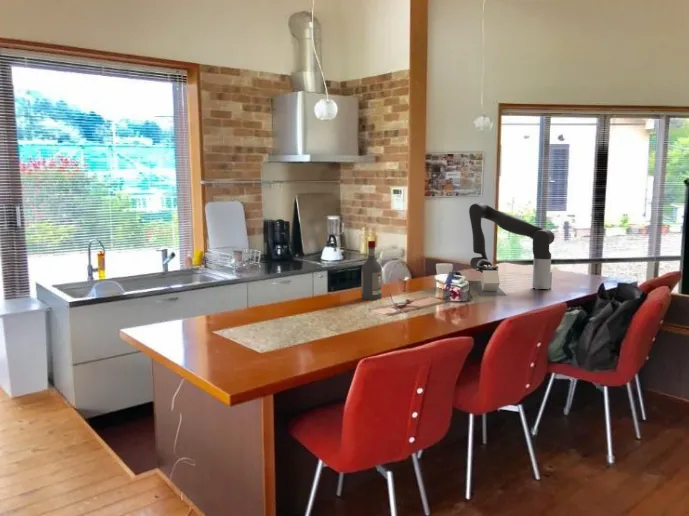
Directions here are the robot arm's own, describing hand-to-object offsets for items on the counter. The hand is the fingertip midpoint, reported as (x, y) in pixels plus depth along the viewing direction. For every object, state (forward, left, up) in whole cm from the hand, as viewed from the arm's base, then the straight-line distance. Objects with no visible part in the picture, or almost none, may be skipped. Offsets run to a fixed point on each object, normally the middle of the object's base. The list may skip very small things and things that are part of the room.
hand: (490, 270), depth 319 cm
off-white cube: (-1, -2, -2) cm, 3 cm away
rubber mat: (-1, -3, -12) cm, 12 cm away
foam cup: (+18, -19, -12) cm, 29 cm away
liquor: (+67, -3, -12) cm, 68 cm away
